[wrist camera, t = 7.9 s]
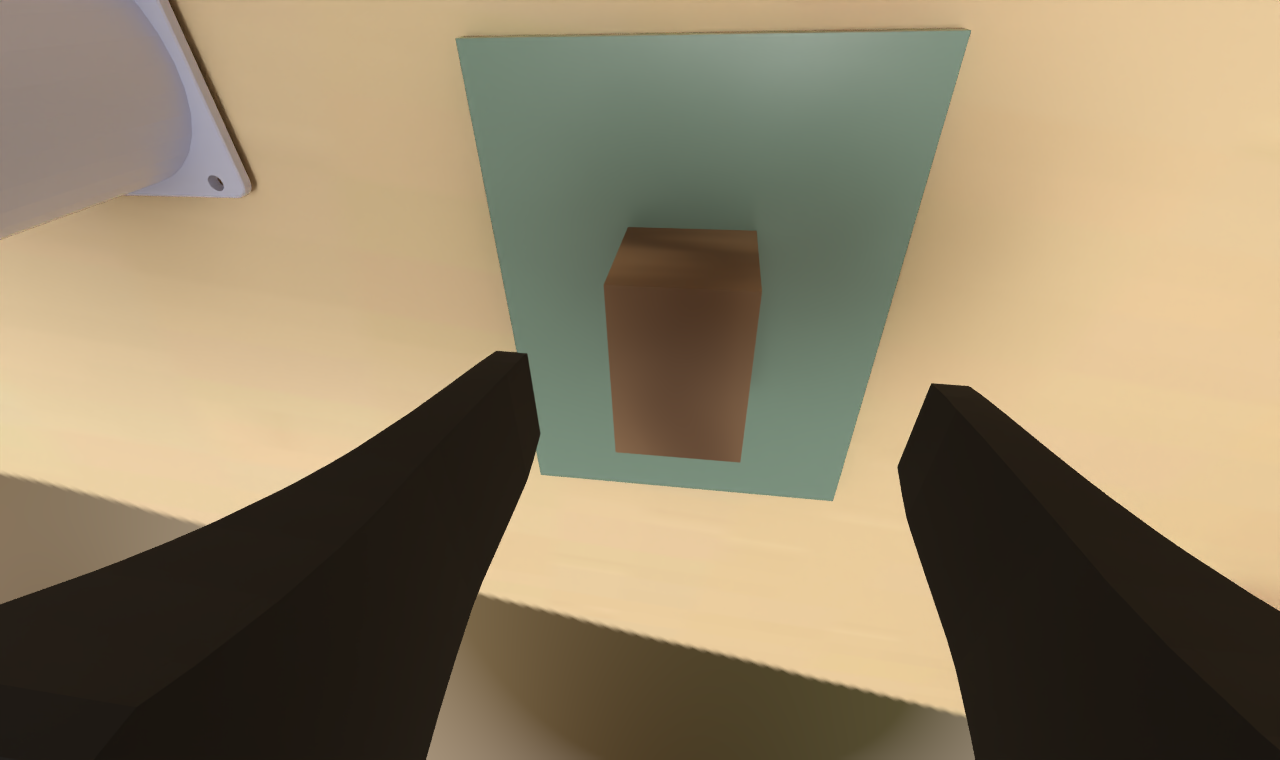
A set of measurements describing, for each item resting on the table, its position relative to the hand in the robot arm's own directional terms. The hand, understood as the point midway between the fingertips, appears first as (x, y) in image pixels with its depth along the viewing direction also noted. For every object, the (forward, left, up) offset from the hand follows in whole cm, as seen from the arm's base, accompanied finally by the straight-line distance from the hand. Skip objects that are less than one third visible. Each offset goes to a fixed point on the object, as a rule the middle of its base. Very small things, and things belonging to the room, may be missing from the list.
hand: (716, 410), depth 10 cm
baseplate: (-1, -3, -9) cm, 10 cm away
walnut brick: (-1, -3, -8) cm, 9 cm away
